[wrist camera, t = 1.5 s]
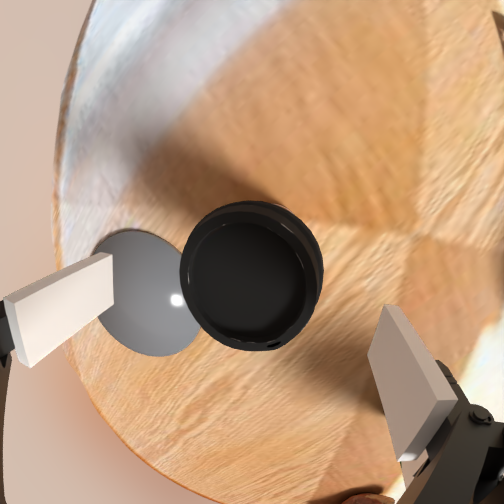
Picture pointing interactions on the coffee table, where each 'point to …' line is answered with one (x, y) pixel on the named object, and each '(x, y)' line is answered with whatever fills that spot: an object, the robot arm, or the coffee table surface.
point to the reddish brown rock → (369, 499)
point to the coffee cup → (251, 275)
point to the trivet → (147, 295)
